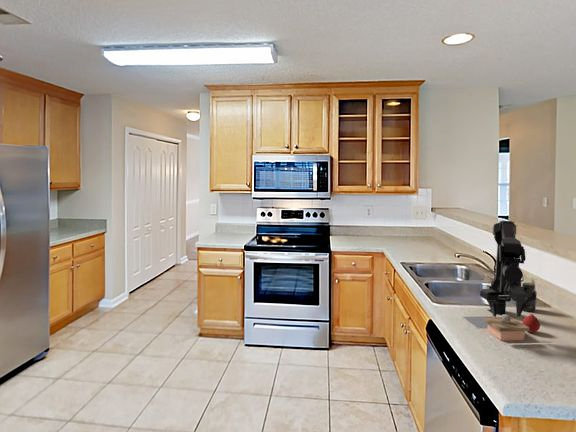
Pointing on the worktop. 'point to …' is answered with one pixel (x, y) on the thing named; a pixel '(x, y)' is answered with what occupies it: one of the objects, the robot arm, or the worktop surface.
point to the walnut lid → (506, 323)
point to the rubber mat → (478, 321)
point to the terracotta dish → (506, 334)
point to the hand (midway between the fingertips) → (506, 316)
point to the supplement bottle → (532, 305)
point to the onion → (531, 323)
